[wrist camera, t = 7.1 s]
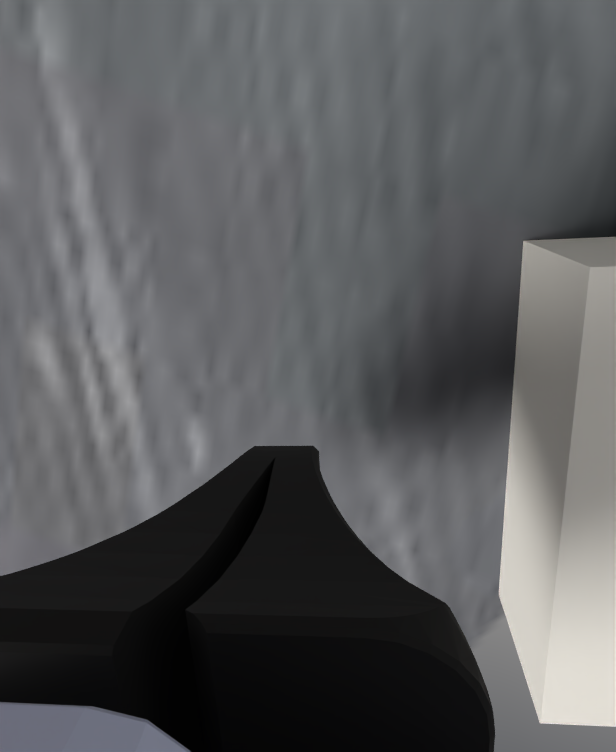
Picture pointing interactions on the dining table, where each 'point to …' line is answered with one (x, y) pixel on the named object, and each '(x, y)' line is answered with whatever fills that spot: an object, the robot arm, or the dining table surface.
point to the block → (564, 481)
